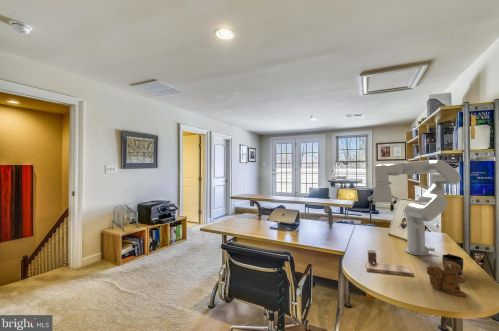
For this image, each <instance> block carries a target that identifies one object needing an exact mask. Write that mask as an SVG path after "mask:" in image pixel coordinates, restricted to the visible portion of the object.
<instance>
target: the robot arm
mask: <svg viewBox="0 0 499 331" xmlns="http://www.w3.org/2000/svg"><path fill="white" fill-rule="evenodd" d="M421 174H423V175H424V174H431V175H430V181H431V183H430V184H431V186H430V187H429V188H428V189H427V190H426V191H424V192H423V193H422V194H421V195H420V196H419V197H418V199H417V203H413V202H411V203H408V204H407V205H405V207H404V214H405V218H406V220H405V221H406V236H407V237H406V240H407V242H406V243H407V244H406V245H407V247H405V248H404V251H405V252H406V253H408V254H410V255H414V256H428V255H429V254H430V253H429V252H436V250H435V247H433V248H432V247H431V246H430V247H429V246H426V232H425V231H426V230H425V229H426V228H425V222H431V221H433V220H434V219H436V218H437V217H438V216H439V215H440V214H441V213H442V212H444V211H445V210H446V208H447V206H448V200H447V198H446V196H445V194H446V189H445V185H457V184H459V183H460V182H461V179H462V177H461V174H460V173H459V171H457V170H456V168H454V167H452V166H451V165H450V164H449V163H447V162H446V161H444V160H441V159H428V160H416V161H413V160H412V161H405V162H396V163H385V164H376V165H375V166H374V176H375V178H374V179H375V182H374V183H375V184H374V186H373V194H372V195H370V196H368V197H367V200H368V201H369V203H370V204H371V205H372V206H371V207H372V210H373V211H374V212H375V211H376V203H390V204H389V205H390V208H389V209H390V212H392V213H393V211H394V210H395V209H394V208H395V204H396V203H397V202H398V201H399V198H398V197H396V196H394V195H392V189H391V185H392V181H390V178H389V177H390V176H391V177H397V176H398V177H399V176H400V175H411V176H412V175H413V176H415V175H421ZM372 199H373V200H372ZM393 199H394V200H393Z"/></svg>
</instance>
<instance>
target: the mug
mask: <svg viewBox="0 0 499 331" xmlns="http://www.w3.org/2000/svg"><path fill="white" fill-rule="evenodd" d="M441 258H442V266H443V267H444V260H447V261H452V262H455V263H457V264H458V265H460V267H461V271H462V272H460V273H457V275H460V276H461V277H462V275H463V274H462V273H463V271H464V258H463V257H461V256H459V255H455V254H451V253H447V254H443V255H442V257H441Z"/></svg>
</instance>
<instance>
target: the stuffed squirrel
mask: <svg viewBox="0 0 499 331" xmlns="http://www.w3.org/2000/svg"><path fill="white" fill-rule="evenodd" d="M460 272H462V274H461V276H460V275H457V273H460ZM426 274H427V275H428V276H429V277H428V279H429V282H430V286H432V288H434V289H435V290H437V291H444V292H446V293H448V294H450V295H453V296H455V297H456V296H457V297H462V298H467V297H468V295H467V293H466V292H464V291H462V290H461V287H460V284H466V283H467V279H466V278H465V277H463V276H462V275H463V274H464V273H463V271H461V267H460V265H458V264H457V263H455V262H452V261H447V260H444V266H443V269H442V268H441V267H440V266H438V265H428V266H426Z"/></svg>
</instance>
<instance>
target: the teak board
mask: <svg viewBox="0 0 499 331" xmlns="http://www.w3.org/2000/svg"><path fill="white" fill-rule="evenodd" d="M364 263H365V264H364V265H365V266H364V267H365V269H366V272H372V273H380V272H384V273H383V274H390V273H392V274H391V275H399V276H409V277H414V276H415V273H414V271H413V270H412V268H411V267H410V265H401V264H400V265H399V264H390V263H389V264H388V263H382V262H380V263H379V262H377V263H375V265H373V264H372V263H371V262H368V261H365V262H364Z"/></svg>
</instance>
